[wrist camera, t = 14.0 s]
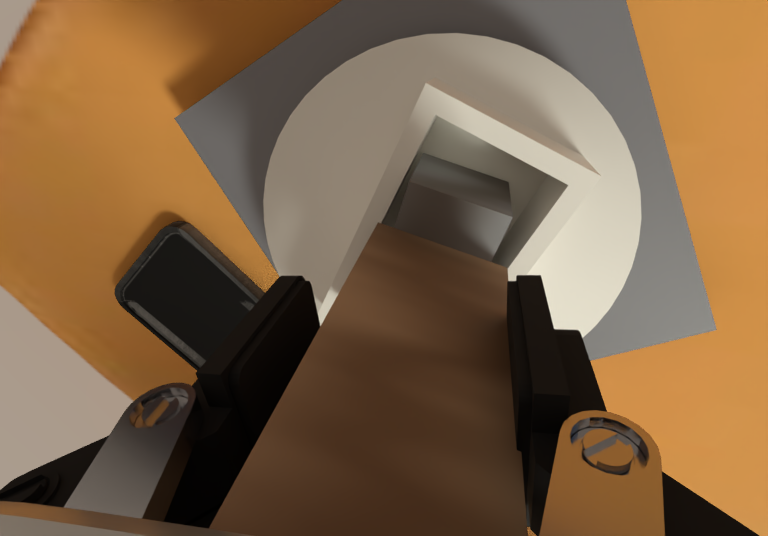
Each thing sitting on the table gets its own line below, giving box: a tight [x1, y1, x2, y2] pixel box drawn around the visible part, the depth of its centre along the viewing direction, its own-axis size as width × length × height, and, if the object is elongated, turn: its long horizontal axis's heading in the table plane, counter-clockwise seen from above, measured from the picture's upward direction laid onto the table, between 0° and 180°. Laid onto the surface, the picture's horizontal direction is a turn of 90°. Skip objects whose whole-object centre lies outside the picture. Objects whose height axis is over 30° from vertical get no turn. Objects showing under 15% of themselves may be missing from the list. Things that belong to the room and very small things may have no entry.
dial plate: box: [175, 0, 716, 361], centre depth 19 cm, size 18×17×2 cm
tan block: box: [209, 153, 528, 536], centre depth 11 cm, size 4×7×12 cm, turn 164°
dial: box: [263, 33, 641, 338], centre depth 16 cm, size 14×14×4 cm
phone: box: [115, 221, 265, 371], centre depth 26 cm, size 8×1×15 cm
